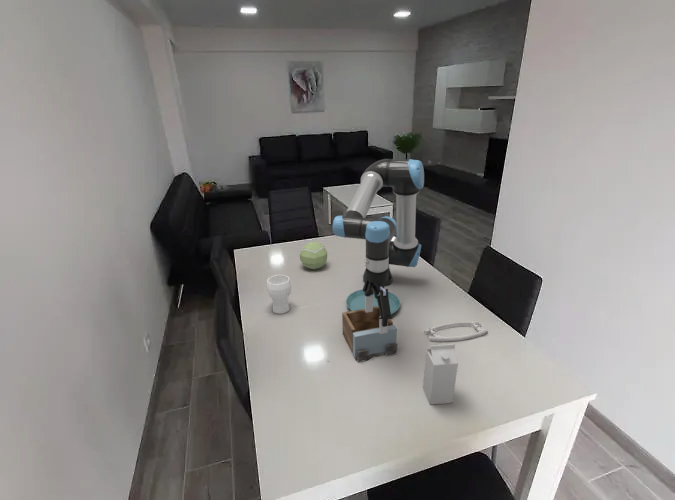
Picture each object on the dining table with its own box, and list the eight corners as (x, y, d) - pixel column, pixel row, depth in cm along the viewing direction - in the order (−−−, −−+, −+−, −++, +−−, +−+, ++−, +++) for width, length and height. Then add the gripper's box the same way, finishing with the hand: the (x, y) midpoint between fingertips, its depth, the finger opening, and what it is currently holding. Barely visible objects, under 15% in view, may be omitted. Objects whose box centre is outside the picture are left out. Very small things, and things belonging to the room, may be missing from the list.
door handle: (421, 331, 142) (477, 323, 146) (431, 346, 133) (491, 337, 137) (421, 326, 141) (478, 317, 145) (432, 340, 132) (492, 331, 136)
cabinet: (379, 327, 144) (380, 306, 140) (398, 353, 129) (399, 330, 125) (342, 334, 140) (342, 312, 136) (356, 362, 125) (356, 338, 121)
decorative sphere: (332, 265, 201) (331, 241, 196) (317, 275, 190) (316, 249, 184) (311, 260, 209) (310, 236, 203) (295, 269, 197) (293, 244, 192)
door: (393, 345, 132) (394, 324, 129) (395, 349, 130) (397, 328, 127) (352, 353, 128) (352, 332, 125) (355, 357, 126) (354, 336, 123)
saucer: (338, 317, 152) (338, 310, 151) (354, 291, 173) (354, 285, 172) (394, 327, 145) (394, 320, 143) (403, 298, 166) (404, 292, 164)
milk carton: (422, 387, 113) (427, 338, 106) (444, 386, 113) (450, 336, 106) (429, 404, 106) (435, 353, 99) (452, 403, 107) (459, 352, 100)
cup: (288, 316, 153) (286, 286, 147) (265, 314, 155) (262, 284, 149) (296, 304, 162) (293, 275, 157) (274, 302, 164) (271, 273, 159)
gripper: (354, 255, 126) (354, 305, 135) (380, 287, 104) (379, 345, 113) (373, 252, 128) (372, 302, 137) (403, 283, 106) (400, 340, 114)
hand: (375, 321), depth 125 cm, fingers open, 13 cm apart
